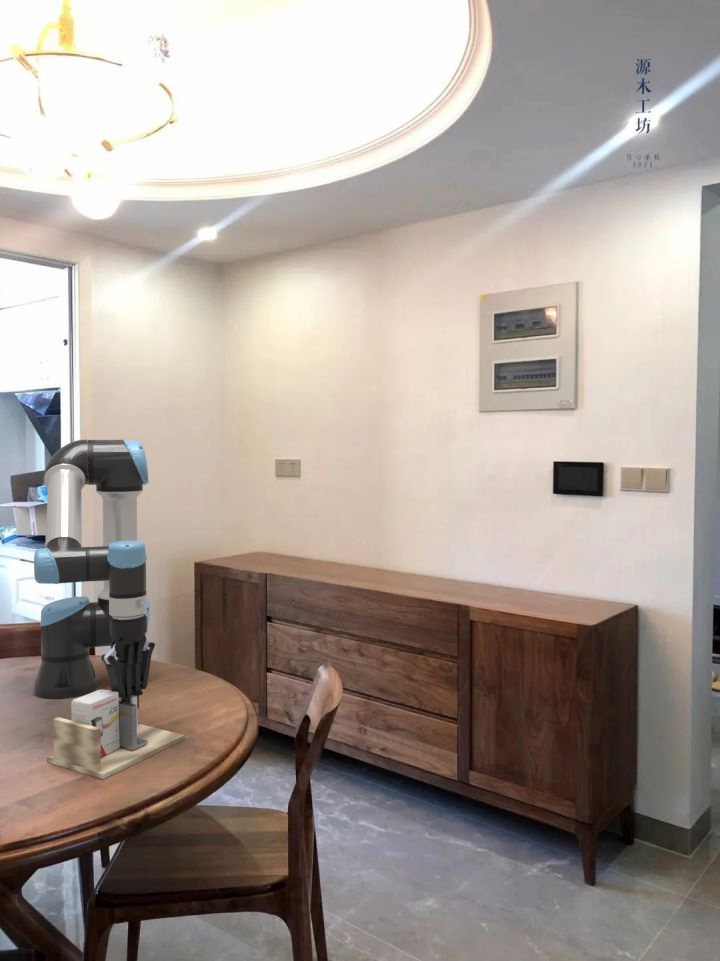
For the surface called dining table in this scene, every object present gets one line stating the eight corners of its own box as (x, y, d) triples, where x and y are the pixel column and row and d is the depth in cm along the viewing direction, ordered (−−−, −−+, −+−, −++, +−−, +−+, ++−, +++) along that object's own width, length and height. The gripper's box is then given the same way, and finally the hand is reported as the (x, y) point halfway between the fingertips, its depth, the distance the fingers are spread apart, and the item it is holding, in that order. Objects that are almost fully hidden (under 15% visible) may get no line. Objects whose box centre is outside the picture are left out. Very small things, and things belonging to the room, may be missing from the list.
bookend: (98, 740, 155) (97, 698, 155) (113, 734, 159) (113, 692, 158) (132, 750, 150) (131, 706, 150) (147, 743, 154) (147, 700, 153)
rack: (46, 761, 148) (46, 717, 147) (130, 726, 167) (130, 686, 166) (102, 779, 140) (102, 732, 139) (184, 739, 159) (184, 698, 159)
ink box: (90, 764, 144) (89, 704, 144) (70, 760, 146) (69, 701, 146) (121, 748, 152) (120, 691, 151) (102, 744, 154) (101, 688, 154)
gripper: (117, 624, 147) (119, 740, 149) (163, 611, 159) (165, 719, 160) (91, 619, 151) (93, 733, 152) (138, 607, 162) (140, 713, 164)
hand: (130, 726), depth 156 cm, fingers closed
